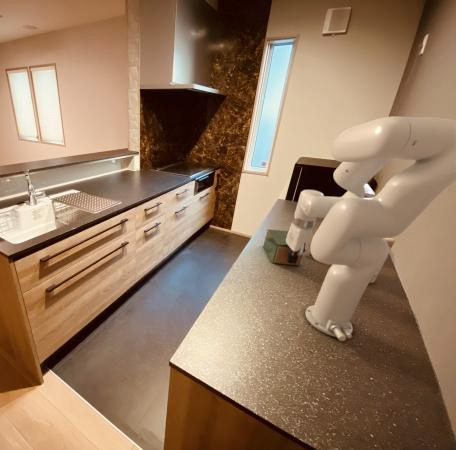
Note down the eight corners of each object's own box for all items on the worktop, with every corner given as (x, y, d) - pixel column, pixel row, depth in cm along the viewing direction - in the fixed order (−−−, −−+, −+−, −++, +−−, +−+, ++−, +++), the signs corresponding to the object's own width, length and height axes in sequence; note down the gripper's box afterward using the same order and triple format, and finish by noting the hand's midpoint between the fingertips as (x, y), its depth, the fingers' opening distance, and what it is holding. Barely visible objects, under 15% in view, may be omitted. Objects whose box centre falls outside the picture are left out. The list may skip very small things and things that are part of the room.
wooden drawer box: (300, 266, 105) (306, 251, 102) (275, 264, 106) (279, 248, 103) (288, 249, 119) (292, 235, 115) (266, 247, 120) (269, 233, 116)
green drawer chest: (299, 265, 108) (305, 246, 104) (271, 262, 109) (277, 243, 105) (287, 249, 121) (292, 231, 117) (263, 246, 122) (267, 229, 118)
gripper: (286, 214, 103) (276, 252, 110) (301, 229, 89) (288, 271, 97) (305, 215, 102) (293, 254, 109) (323, 231, 88) (308, 273, 96)
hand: (291, 262), depth 103 cm, fingers closed
